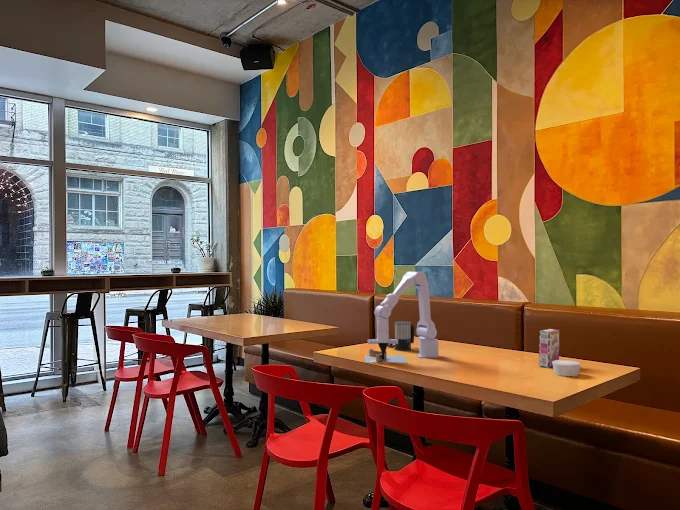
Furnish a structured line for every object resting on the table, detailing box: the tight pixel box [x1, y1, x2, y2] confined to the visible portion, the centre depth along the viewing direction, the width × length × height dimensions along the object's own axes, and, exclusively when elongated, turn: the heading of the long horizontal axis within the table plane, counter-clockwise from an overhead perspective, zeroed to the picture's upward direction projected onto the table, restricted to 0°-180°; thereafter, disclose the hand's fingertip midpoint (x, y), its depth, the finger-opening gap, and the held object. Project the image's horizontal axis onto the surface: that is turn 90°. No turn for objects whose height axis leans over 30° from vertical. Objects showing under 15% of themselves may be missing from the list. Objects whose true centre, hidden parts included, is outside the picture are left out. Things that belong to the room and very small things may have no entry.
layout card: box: [363, 354, 408, 364], centre depth 255 cm, size 20×19×1 cm
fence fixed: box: [368, 348, 387, 359], centre depth 259 cm, size 2×11×4 cm, turn 45°
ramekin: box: [552, 359, 581, 377], centre depth 220 cm, size 11×11×5 cm
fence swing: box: [376, 353, 385, 362], centre depth 250 cm, size 9×2×3 cm, turn 154°
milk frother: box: [387, 321, 415, 352], centre depth 286 cm, size 14×16×15 cm
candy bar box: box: [538, 328, 560, 369], centre depth 238 cm, size 11×5×16 cm, turn 134°
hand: (383, 358), depth 249 cm, fingers closed, pressing on fence swing
